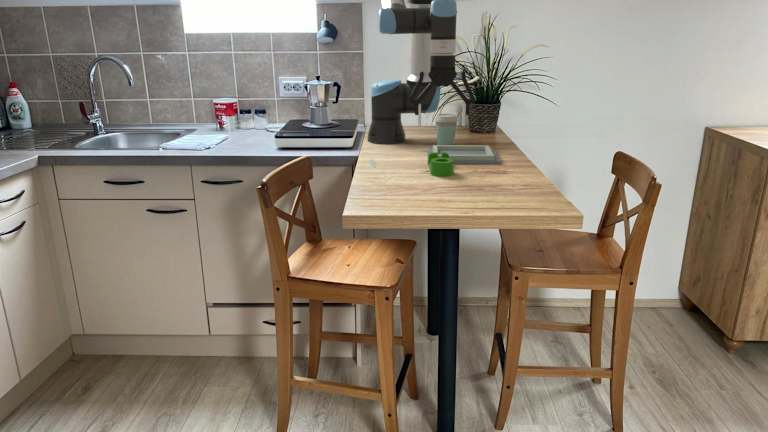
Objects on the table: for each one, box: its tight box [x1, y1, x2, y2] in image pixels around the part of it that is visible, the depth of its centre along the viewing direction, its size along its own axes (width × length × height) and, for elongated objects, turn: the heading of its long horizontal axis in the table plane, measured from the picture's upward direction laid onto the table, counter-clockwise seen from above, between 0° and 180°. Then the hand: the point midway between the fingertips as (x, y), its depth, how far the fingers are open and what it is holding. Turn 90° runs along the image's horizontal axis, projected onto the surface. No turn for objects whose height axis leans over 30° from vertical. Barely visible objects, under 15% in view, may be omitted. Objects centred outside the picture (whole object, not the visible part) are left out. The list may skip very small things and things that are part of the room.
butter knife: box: [368, 158, 377, 169], centre depth 188 cm, size 1×27×3 cm
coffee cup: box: [434, 113, 459, 145], centre depth 217 cm, size 8×8×12 cm
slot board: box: [426, 144, 502, 165], centre depth 202 cm, size 24×20×2 cm
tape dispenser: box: [427, 152, 455, 178], centre depth 185 cm, size 15×7×5 cm, turn 0°
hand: (441, 125), depth 180 cm, fingers open, 13 cm apart
